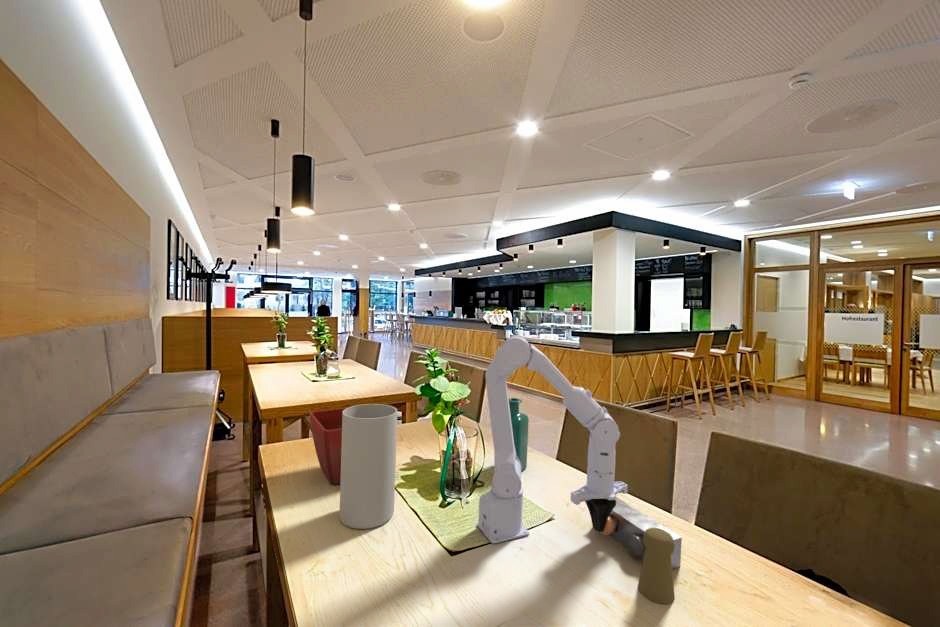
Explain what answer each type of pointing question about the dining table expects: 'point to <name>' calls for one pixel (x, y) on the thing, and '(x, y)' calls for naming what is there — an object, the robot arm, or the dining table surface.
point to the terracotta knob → (610, 526)
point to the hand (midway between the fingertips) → (598, 529)
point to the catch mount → (639, 528)
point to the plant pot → (328, 441)
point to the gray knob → (635, 545)
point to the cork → (657, 567)
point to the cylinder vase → (368, 465)
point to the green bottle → (519, 431)
